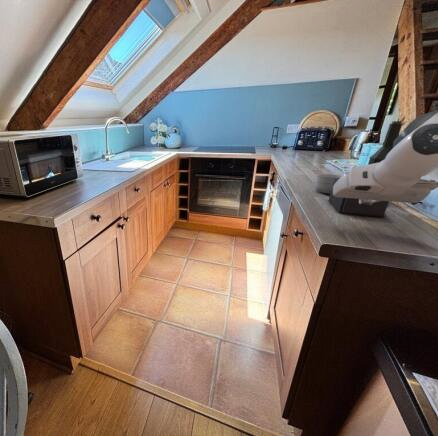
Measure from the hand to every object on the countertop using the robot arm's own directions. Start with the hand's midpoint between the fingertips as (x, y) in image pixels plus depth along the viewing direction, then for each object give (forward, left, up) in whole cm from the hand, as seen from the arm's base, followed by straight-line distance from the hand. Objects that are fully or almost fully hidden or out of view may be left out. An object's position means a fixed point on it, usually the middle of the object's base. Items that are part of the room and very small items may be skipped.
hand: (364, 202), depth 76 cm
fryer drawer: (-10, -10, -6) cm, 16 cm away
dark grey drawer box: (-11, -12, -7) cm, 18 cm away
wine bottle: (-28, -21, -7) cm, 36 cm away
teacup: (-19, -31, -7) cm, 38 cm away
